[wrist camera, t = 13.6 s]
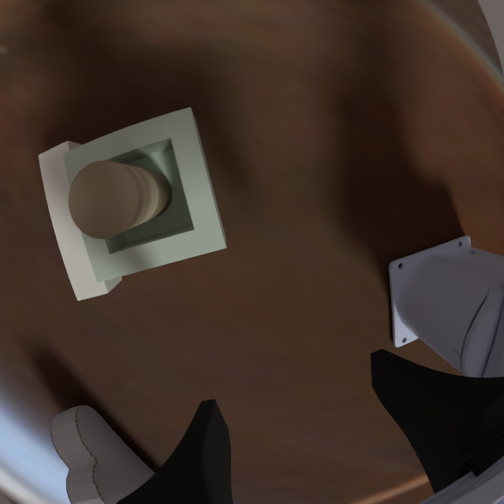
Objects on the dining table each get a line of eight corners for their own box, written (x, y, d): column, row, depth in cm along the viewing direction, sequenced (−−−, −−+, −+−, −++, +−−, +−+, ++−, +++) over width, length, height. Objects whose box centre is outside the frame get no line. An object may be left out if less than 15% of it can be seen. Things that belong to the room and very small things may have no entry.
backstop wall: (86, 146, 18) (67, 140, 15) (122, 279, 20) (108, 293, 17) (59, 158, 18) (38, 155, 15) (94, 287, 20) (77, 300, 17)
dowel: (168, 165, 18) (130, 152, 11) (175, 214, 19) (142, 232, 11) (123, 175, 18) (64, 170, 10) (130, 222, 19) (75, 244, 11)
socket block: (196, 122, 18) (190, 107, 15) (225, 236, 20) (226, 247, 16) (89, 158, 18) (63, 153, 14) (118, 266, 20) (97, 282, 16)
